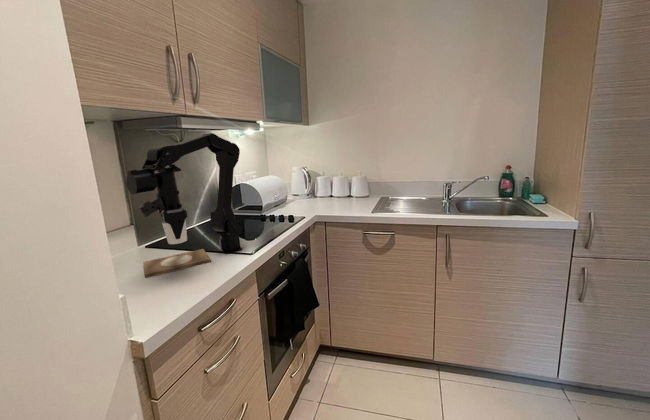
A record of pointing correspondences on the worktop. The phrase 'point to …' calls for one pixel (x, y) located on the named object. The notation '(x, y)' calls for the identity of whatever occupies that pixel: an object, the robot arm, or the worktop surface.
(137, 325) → the worktop surface
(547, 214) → the worktop surface
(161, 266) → the serving board
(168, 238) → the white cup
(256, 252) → the worktop surface
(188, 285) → the worktop surface
